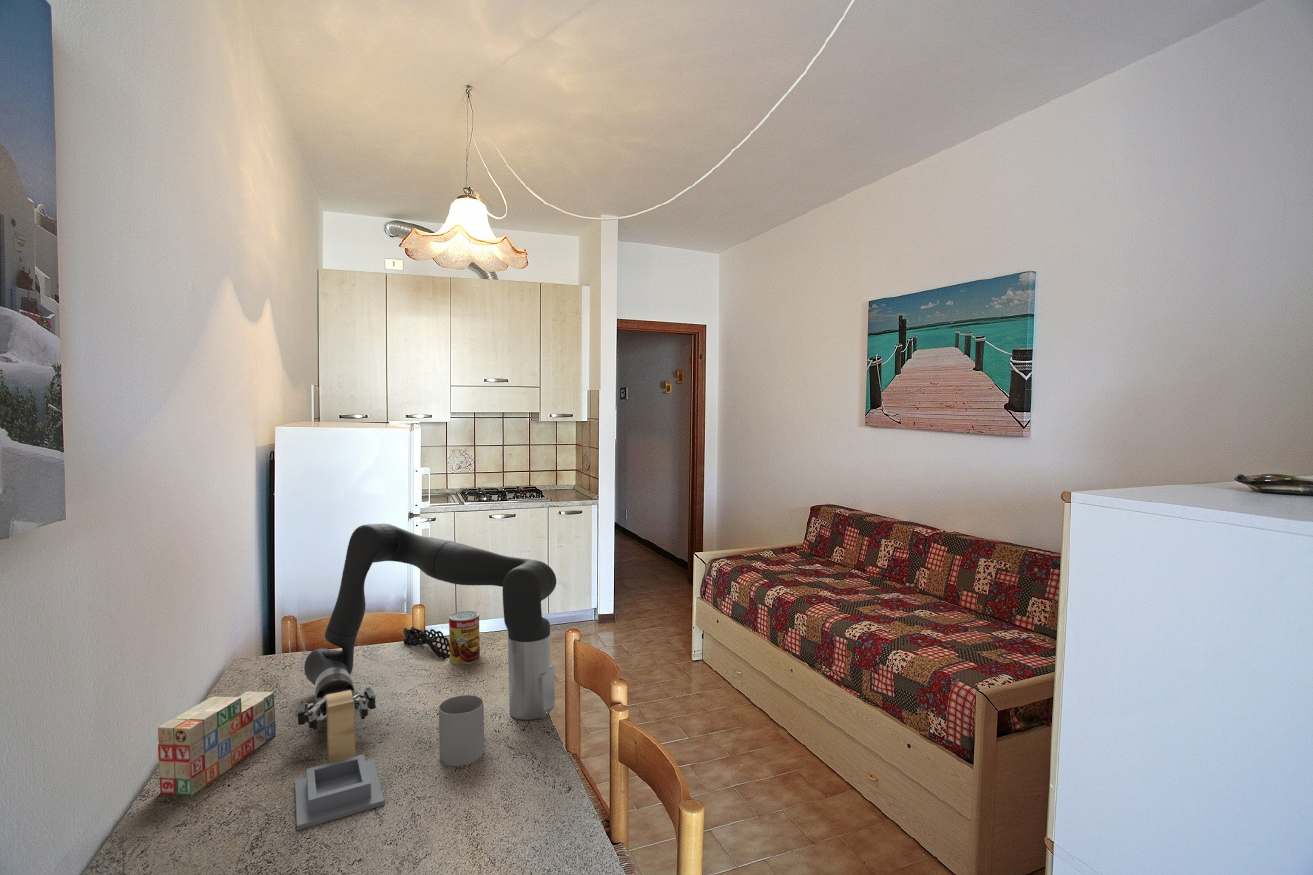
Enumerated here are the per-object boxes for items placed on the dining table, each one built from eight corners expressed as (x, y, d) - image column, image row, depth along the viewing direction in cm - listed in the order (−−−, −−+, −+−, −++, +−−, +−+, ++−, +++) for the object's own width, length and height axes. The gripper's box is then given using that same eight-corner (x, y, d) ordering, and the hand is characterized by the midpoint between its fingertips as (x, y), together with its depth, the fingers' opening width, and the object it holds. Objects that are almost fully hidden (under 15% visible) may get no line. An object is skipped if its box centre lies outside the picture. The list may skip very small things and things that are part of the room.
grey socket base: (295, 784, 116) (294, 766, 115) (373, 763, 122) (372, 746, 122) (297, 830, 103) (296, 810, 102) (384, 804, 109) (383, 785, 109)
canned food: (463, 666, 169) (462, 621, 168) (443, 660, 173) (442, 616, 173) (486, 657, 176) (485, 613, 175) (466, 651, 180) (465, 609, 179)
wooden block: (327, 754, 125) (326, 694, 125) (352, 748, 128) (350, 689, 127) (329, 769, 120) (328, 706, 120) (355, 762, 123) (353, 701, 122)
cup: (438, 748, 128) (437, 699, 127) (480, 739, 131) (479, 691, 130) (441, 770, 120) (440, 717, 119) (486, 760, 123) (485, 709, 123)
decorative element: (457, 656, 177) (457, 635, 177) (441, 662, 173) (440, 640, 173) (413, 639, 191) (413, 619, 191) (397, 643, 187) (397, 623, 187)
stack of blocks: (248, 734, 134) (247, 676, 134) (276, 735, 134) (274, 677, 133) (159, 794, 113) (156, 726, 113) (191, 796, 112) (189, 727, 112)
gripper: (296, 679, 137) (297, 709, 123) (369, 666, 144) (378, 692, 130) (297, 714, 137) (299, 748, 123) (369, 698, 144) (379, 729, 130)
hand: (339, 719), depth 126 cm, fingers open, 8 cm apart
